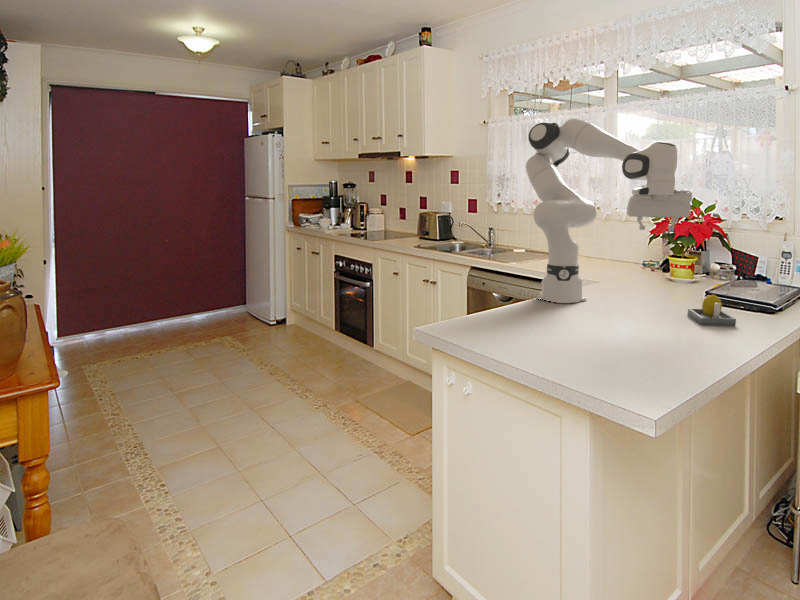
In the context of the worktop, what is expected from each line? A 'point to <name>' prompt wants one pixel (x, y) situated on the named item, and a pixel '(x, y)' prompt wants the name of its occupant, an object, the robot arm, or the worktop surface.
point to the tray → (717, 320)
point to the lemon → (710, 305)
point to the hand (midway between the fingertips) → (656, 229)
